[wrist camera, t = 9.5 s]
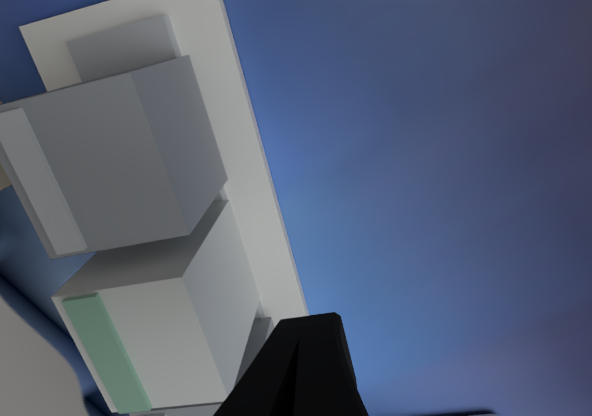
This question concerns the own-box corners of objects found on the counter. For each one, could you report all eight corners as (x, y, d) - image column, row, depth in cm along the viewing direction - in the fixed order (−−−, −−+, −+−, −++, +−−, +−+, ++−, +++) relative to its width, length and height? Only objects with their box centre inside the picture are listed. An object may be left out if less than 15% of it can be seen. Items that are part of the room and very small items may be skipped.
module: (260, 297, 21) (228, 405, 15) (170, 310, 22) (109, 416, 16) (229, 199, 19) (179, 281, 13) (132, 217, 20) (47, 300, 14)
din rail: (335, 409, 25) (331, 533, 19) (200, 422, 26) (158, 540, 20) (214, -29, 17) (143, -48, 11) (28, 26, 18) (-123, 34, 12)
